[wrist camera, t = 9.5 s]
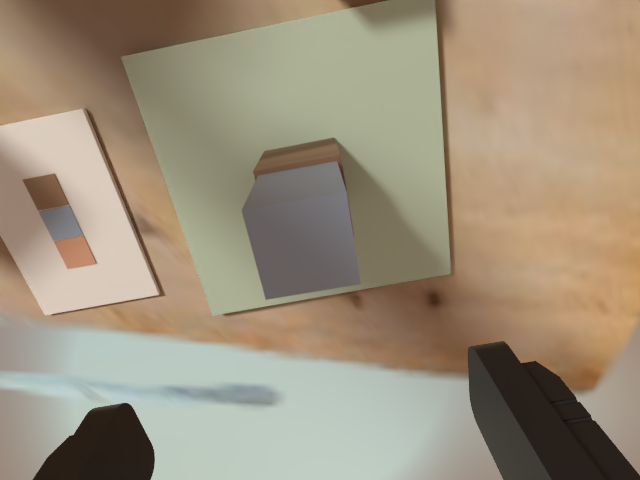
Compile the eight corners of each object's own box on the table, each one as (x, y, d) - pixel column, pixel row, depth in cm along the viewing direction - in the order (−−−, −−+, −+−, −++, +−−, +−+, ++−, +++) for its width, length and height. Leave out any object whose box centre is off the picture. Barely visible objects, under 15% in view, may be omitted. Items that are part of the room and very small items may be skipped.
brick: (258, 175, 22) (241, 210, 17) (337, 160, 22) (346, 191, 16) (275, 246, 24) (265, 299, 18) (348, 234, 24) (360, 284, 18)
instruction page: (-51, 136, 27) (-57, 137, 27) (85, 108, 27) (81, 108, 26) (48, 312, 33) (44, 315, 33) (160, 292, 33) (158, 295, 32)
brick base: (264, 151, 27) (252, 171, 22) (334, 137, 27) (340, 154, 22) (280, 216, 29) (273, 250, 24) (345, 204, 29) (354, 236, 24)
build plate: (127, 57, 26) (120, 56, 25) (429, -7, 25) (434, -10, 24) (215, 308, 34) (212, 315, 33) (447, 268, 33) (451, 274, 32)
